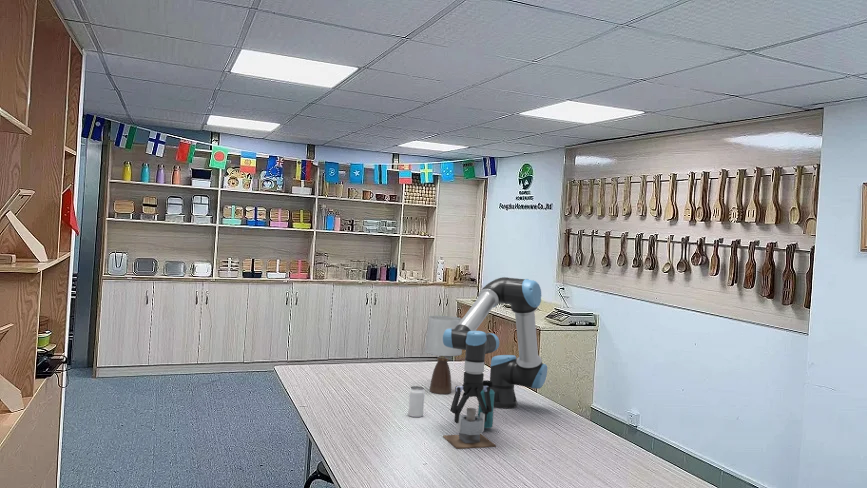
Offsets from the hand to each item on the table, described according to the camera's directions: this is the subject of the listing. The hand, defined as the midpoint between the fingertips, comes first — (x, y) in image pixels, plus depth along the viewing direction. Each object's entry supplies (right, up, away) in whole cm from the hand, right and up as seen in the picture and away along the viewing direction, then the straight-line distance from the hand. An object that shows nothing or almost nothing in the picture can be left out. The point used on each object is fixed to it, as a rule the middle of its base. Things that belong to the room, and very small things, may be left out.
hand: (469, 430), depth 250 cm
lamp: (-10, -3, +78) cm, 78 cm away
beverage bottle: (+7, -5, +18) cm, 20 cm away
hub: (0, 0, 0) cm, 0 cm away
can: (-22, -3, +31) cm, 38 cm away
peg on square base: (0, -4, 0) cm, 4 cm away
